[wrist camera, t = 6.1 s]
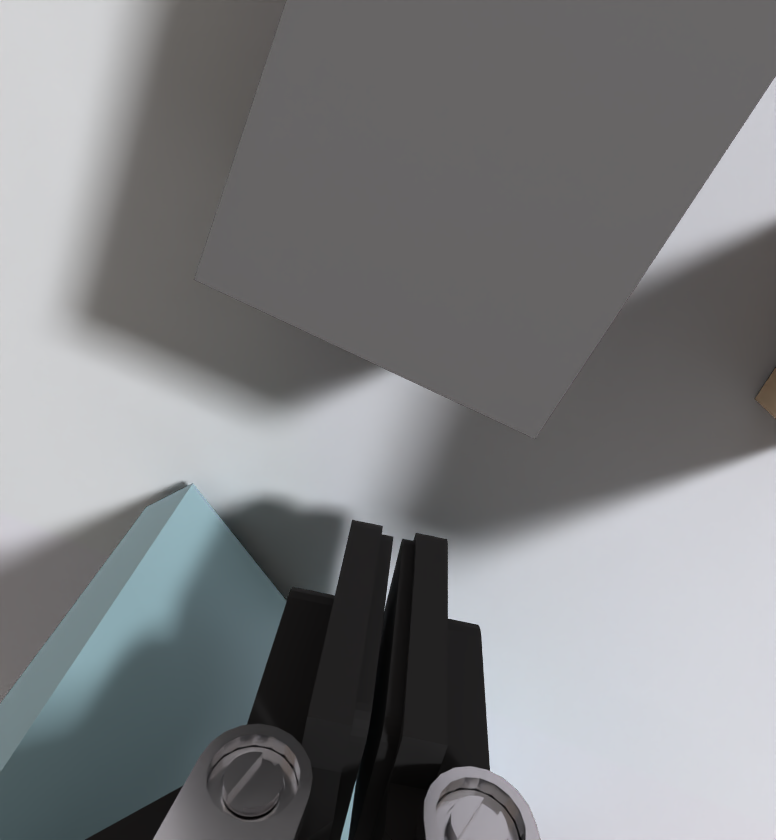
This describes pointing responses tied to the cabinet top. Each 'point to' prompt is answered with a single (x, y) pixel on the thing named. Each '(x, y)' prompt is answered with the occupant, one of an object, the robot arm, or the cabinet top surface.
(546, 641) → the cabinet top surface
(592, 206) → the charcoal brick
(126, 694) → the door
